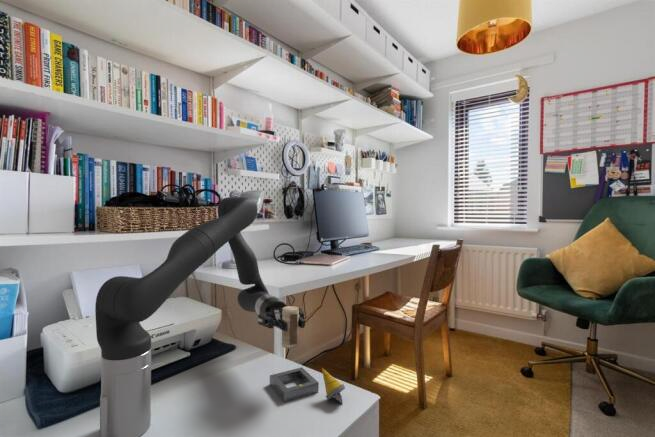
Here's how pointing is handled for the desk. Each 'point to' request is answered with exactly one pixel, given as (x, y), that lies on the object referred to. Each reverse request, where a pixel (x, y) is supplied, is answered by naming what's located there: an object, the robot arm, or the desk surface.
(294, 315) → the birch shaft
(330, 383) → the yellow spinning top
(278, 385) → the grey square tray
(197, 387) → the desk surface
